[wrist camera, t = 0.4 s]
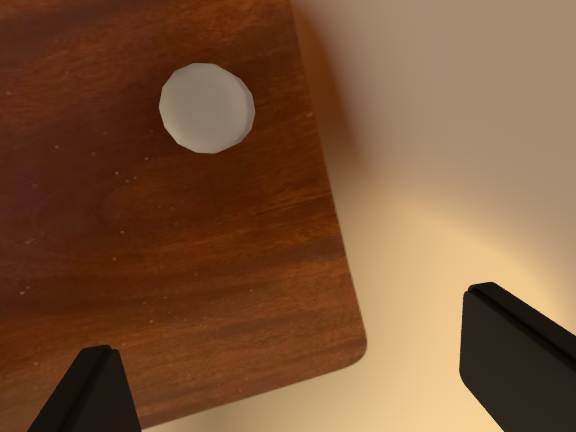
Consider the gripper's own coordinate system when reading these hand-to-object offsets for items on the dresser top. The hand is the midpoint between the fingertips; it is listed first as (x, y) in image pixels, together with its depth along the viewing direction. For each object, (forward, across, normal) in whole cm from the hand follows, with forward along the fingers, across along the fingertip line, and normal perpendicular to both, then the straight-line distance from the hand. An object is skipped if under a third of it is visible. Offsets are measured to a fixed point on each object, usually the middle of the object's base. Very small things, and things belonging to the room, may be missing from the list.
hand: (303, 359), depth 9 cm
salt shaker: (+23, +2, -7) cm, 24 cm away
